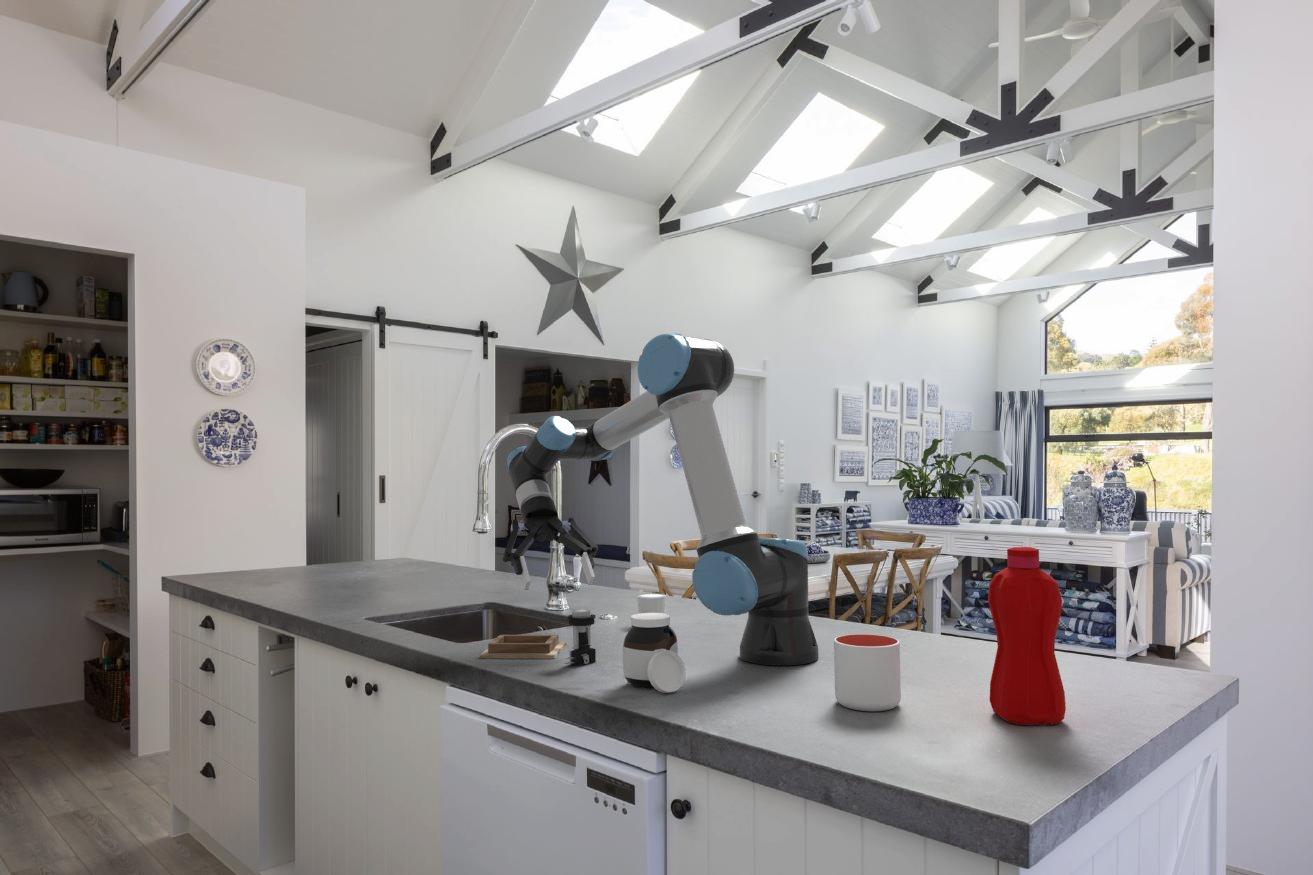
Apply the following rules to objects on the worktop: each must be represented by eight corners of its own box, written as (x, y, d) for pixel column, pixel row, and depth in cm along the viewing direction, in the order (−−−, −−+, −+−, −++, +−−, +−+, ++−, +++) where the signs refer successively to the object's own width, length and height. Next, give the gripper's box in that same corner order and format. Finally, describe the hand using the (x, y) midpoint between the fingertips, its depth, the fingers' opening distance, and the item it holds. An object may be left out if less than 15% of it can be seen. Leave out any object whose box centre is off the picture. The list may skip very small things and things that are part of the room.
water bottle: (1038, 705, 135) (1034, 542, 136) (1074, 727, 124) (1069, 549, 125) (979, 706, 135) (975, 543, 135) (1009, 728, 124) (1004, 550, 124)
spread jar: (646, 674, 158) (645, 609, 158) (702, 681, 152) (701, 614, 153) (610, 690, 148) (609, 620, 148) (669, 698, 142) (668, 626, 142)
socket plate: (554, 658, 172) (554, 646, 172) (479, 658, 173) (479, 645, 173) (566, 644, 185) (566, 633, 185) (496, 644, 186) (496, 633, 186)
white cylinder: (666, 627, 202) (666, 597, 203) (636, 628, 202) (636, 597, 203) (666, 622, 209) (666, 592, 209) (637, 622, 209) (637, 593, 209)
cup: (889, 717, 130) (888, 649, 130) (825, 708, 135) (824, 642, 135) (909, 701, 138) (907, 637, 139) (848, 693, 144) (846, 631, 144)
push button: (573, 669, 163) (572, 615, 163) (556, 664, 167) (556, 611, 167) (601, 663, 167) (601, 610, 168) (584, 658, 171) (584, 607, 172)
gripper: (586, 515, 198) (612, 590, 184) (477, 519, 188) (496, 599, 174) (594, 492, 194) (622, 567, 180) (483, 495, 183) (503, 575, 169)
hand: (560, 583), depth 177 cm, fingers open, 13 cm apart
